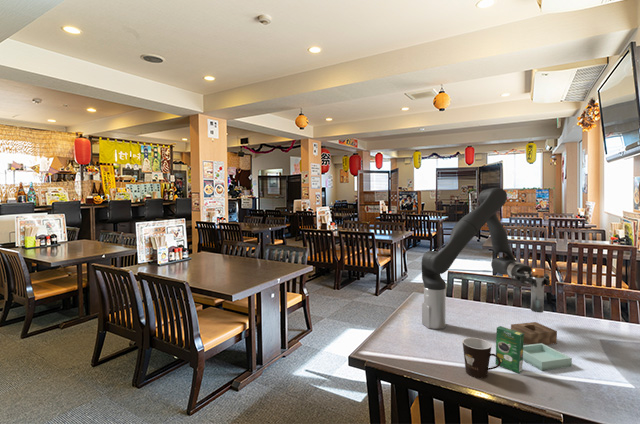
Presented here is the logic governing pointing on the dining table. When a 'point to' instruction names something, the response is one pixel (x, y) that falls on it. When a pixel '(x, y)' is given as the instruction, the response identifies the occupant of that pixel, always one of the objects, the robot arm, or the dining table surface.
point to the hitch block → (536, 333)
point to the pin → (537, 290)
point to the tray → (545, 357)
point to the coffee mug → (477, 357)
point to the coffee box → (509, 349)
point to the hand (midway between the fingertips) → (541, 282)
